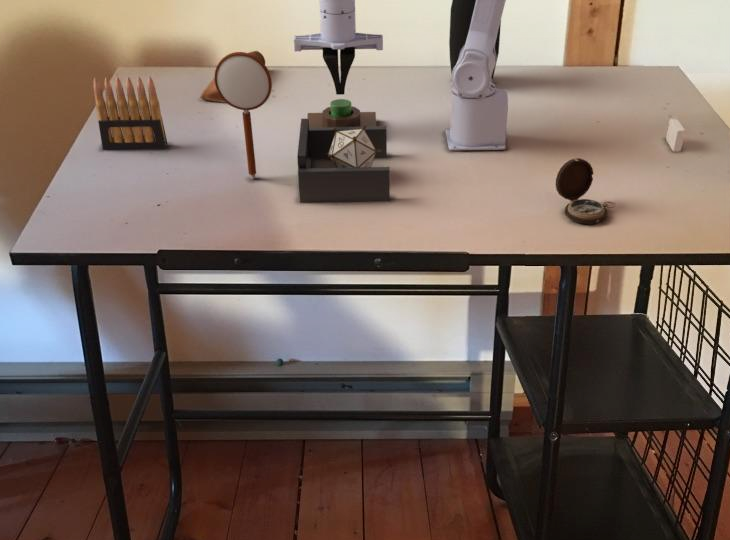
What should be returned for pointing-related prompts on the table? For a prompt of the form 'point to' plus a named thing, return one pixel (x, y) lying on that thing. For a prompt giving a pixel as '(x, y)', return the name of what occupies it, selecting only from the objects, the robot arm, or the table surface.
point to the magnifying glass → (244, 91)
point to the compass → (579, 192)
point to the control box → (342, 119)
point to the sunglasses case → (210, 90)
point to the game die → (351, 149)
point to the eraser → (675, 135)
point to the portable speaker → (463, 29)
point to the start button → (341, 108)
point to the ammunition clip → (129, 117)
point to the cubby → (340, 180)
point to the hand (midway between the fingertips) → (340, 92)
